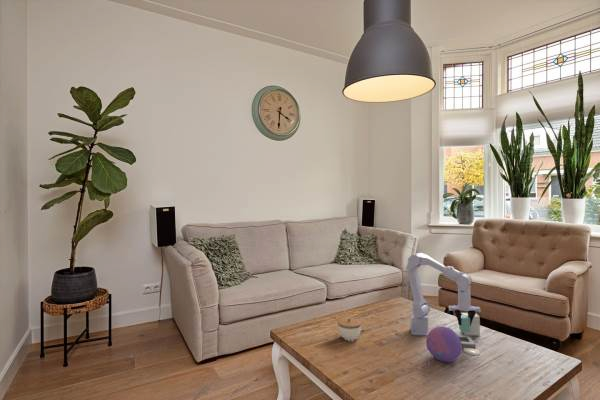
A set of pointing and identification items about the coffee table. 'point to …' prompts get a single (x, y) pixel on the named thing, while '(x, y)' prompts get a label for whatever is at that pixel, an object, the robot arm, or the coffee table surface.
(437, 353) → the decorative ball
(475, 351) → the coaster
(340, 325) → the lidded bowl
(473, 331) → the small box
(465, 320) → the peg
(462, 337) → the pocket board
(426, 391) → the coffee table surface
